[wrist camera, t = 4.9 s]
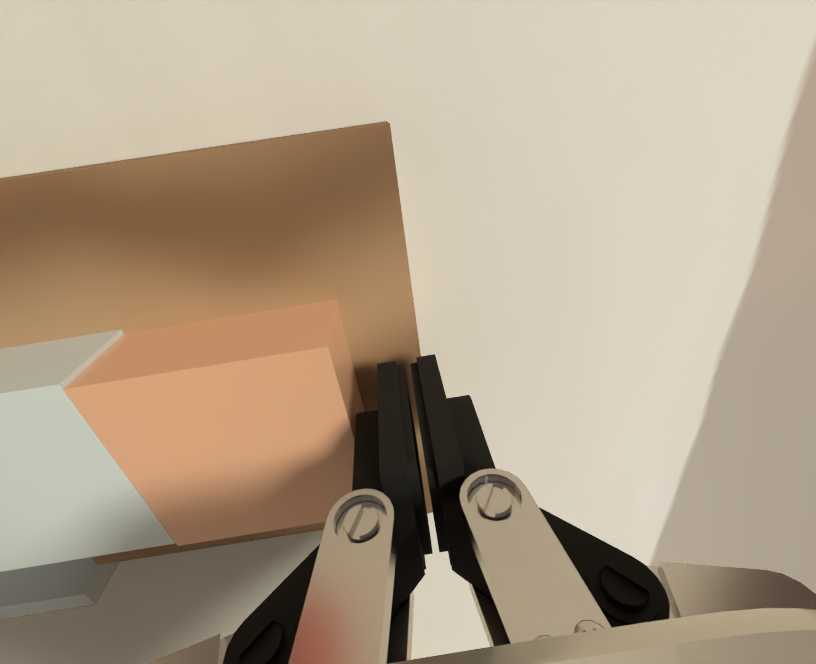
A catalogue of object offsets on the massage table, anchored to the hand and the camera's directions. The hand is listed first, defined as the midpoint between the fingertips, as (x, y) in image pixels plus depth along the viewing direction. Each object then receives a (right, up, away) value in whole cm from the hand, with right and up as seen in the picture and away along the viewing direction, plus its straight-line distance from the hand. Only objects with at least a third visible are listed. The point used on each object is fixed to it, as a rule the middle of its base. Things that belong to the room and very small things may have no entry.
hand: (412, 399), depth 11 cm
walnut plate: (-7, +1, +3) cm, 7 cm away
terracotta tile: (-5, 0, +1) cm, 5 cm away
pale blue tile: (-11, -1, +1) cm, 11 cm away
